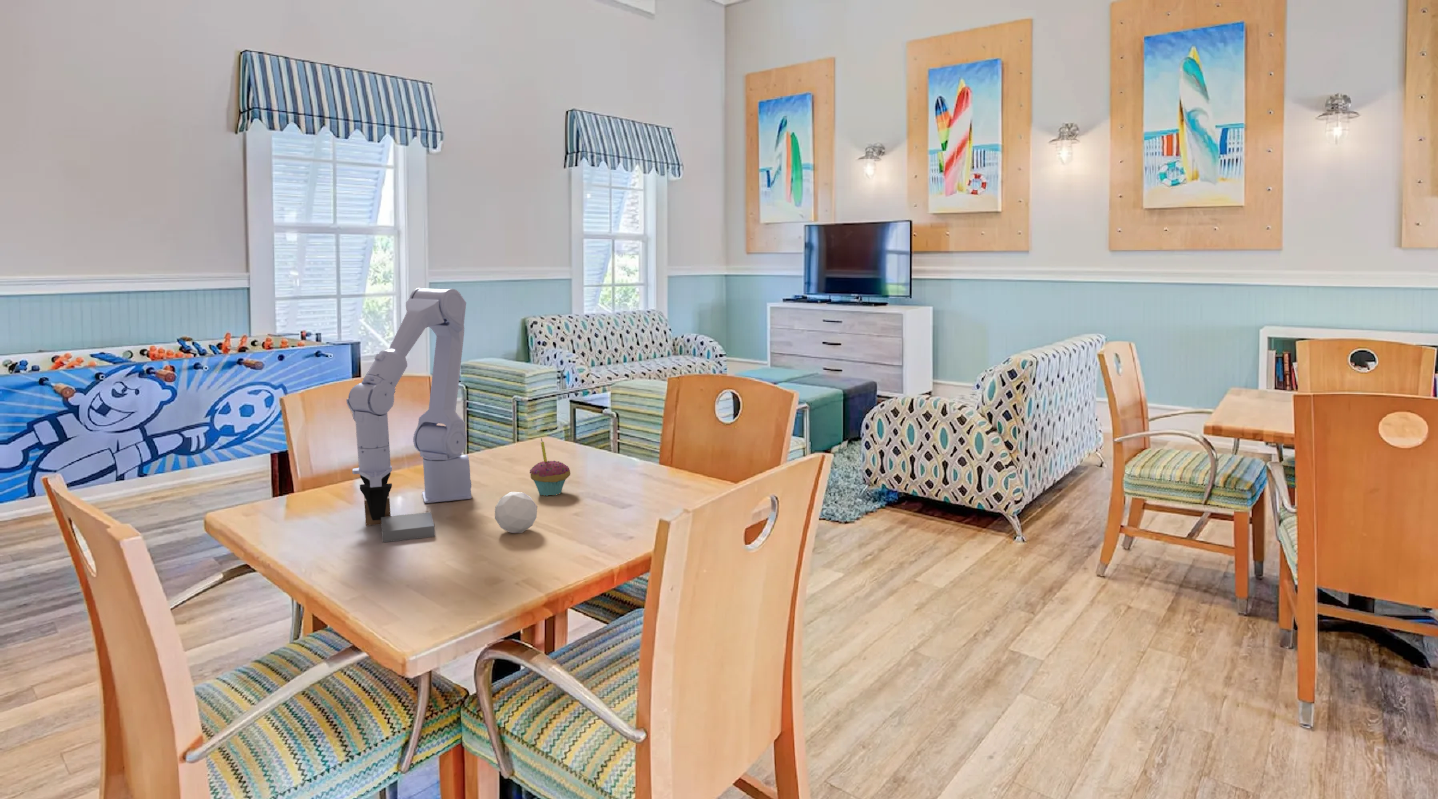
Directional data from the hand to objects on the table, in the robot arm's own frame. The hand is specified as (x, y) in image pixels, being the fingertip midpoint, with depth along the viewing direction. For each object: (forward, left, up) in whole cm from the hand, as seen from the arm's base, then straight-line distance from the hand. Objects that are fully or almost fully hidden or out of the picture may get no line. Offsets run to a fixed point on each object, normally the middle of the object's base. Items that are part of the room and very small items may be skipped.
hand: (377, 513), depth 167 cm
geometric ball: (-24, +16, -2) cm, 29 cm away
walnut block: (0, 0, -2) cm, 2 cm away
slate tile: (-5, +9, -1) cm, 10 cm away
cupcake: (-35, -7, -2) cm, 36 cm away
